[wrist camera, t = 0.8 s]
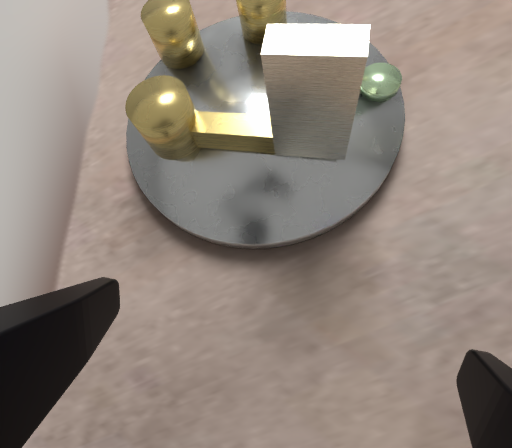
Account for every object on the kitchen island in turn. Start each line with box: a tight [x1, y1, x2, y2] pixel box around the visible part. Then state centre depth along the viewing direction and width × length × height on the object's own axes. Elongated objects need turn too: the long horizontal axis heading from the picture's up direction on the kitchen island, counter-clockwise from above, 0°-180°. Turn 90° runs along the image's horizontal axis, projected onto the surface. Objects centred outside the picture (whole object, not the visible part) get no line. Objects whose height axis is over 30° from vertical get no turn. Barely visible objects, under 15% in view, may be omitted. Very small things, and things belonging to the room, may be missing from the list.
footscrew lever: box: [126, 24, 370, 160], centre depth 21 cm, size 15×4×9 cm, turn 80°
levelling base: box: [126, 0, 405, 249], centre depth 25 cm, size 22×22×5 cm
